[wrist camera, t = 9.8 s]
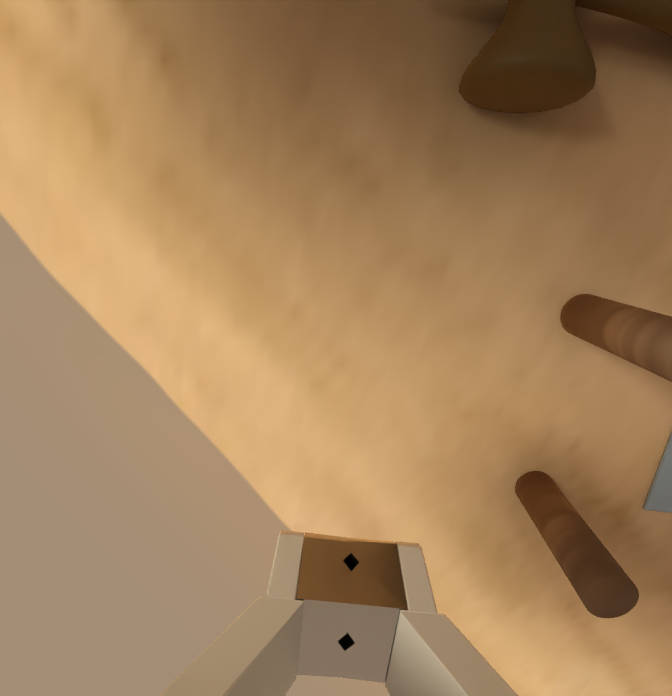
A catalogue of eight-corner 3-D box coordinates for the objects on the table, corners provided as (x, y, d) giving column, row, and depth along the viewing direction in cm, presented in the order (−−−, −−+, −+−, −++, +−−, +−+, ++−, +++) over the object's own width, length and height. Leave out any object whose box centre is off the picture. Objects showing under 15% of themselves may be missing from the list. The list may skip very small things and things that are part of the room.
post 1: (555, 332, 25) (659, 385, 17) (566, 291, 25) (680, 325, 16) (597, 337, 25) (721, 392, 17) (608, 296, 25) (746, 332, 16)
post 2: (511, 500, 29) (578, 614, 20) (519, 469, 28) (592, 574, 20) (547, 504, 29) (629, 621, 20) (556, 473, 28) (645, 580, 20)
